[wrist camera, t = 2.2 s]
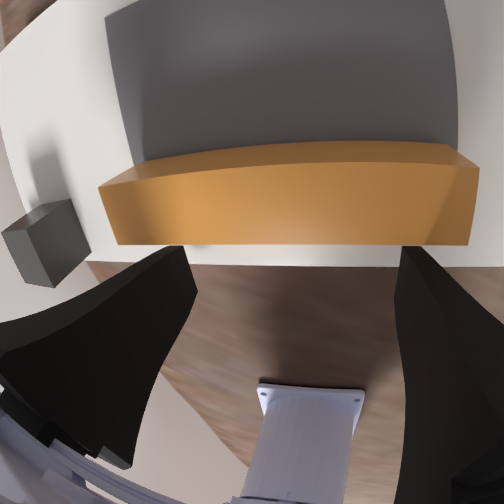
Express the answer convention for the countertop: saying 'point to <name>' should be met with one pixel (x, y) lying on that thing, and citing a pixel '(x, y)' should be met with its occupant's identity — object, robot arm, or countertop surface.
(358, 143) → the switch
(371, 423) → the countertop surface
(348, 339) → the countertop surface
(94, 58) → the board
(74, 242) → the plug
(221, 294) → the countertop surface
